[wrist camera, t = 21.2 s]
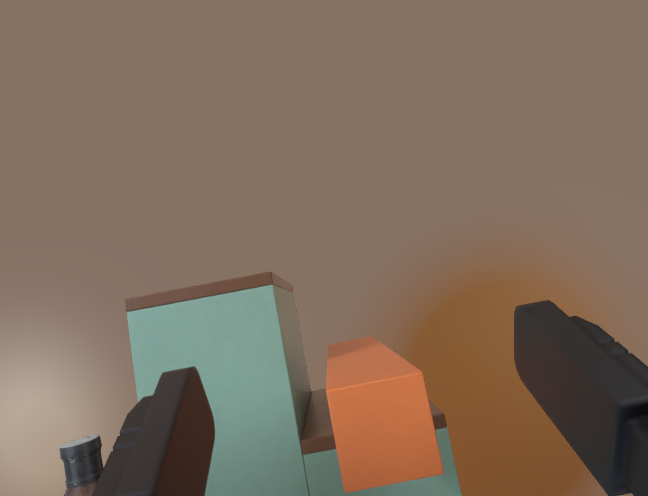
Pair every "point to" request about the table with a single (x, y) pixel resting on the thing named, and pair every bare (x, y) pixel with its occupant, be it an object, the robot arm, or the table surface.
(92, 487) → the sauce bottle
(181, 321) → the stand
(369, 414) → the box
